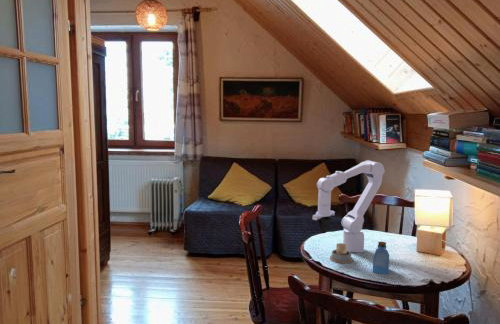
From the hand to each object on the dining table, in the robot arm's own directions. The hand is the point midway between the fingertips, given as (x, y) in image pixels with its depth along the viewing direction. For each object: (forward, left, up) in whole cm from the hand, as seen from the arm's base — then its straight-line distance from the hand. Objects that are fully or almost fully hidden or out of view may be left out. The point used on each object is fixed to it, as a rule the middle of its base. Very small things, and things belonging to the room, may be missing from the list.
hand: (323, 232), depth 190 cm
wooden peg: (-7, +9, -9) cm, 14 cm away
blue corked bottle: (-21, +21, -10) cm, 31 cm away
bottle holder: (-7, +9, -9) cm, 15 cm away
